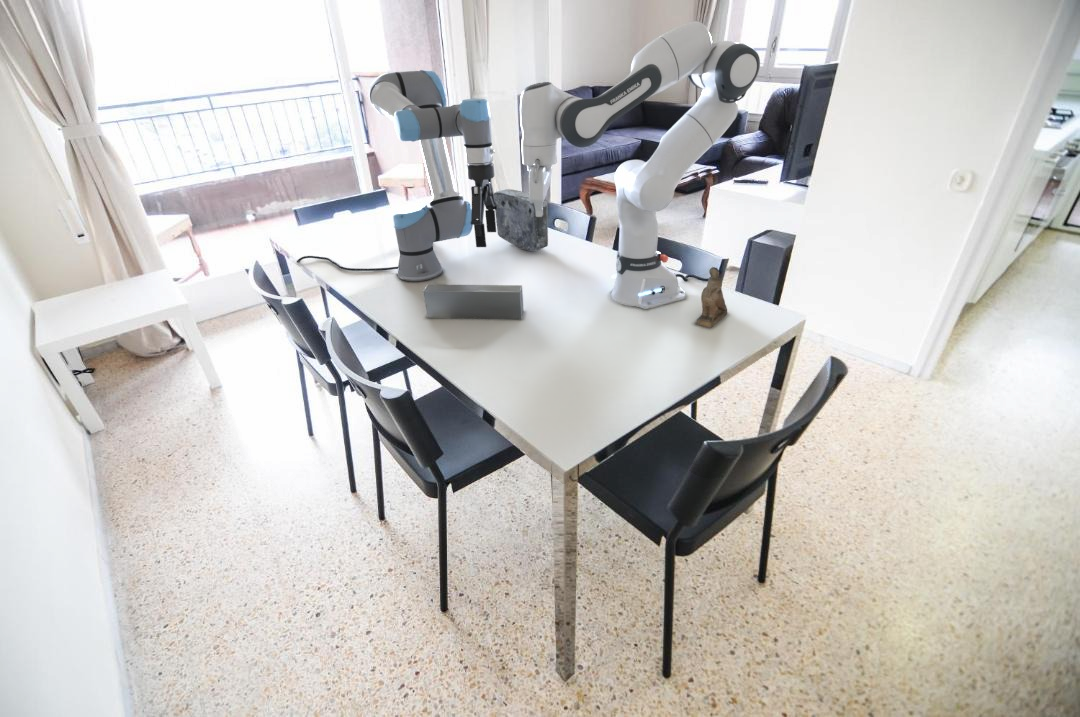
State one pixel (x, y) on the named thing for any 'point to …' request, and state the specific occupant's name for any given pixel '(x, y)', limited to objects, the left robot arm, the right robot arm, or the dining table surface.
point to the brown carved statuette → (712, 301)
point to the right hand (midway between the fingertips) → (541, 211)
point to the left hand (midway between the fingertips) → (486, 239)
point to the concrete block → (520, 220)
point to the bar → (474, 301)
